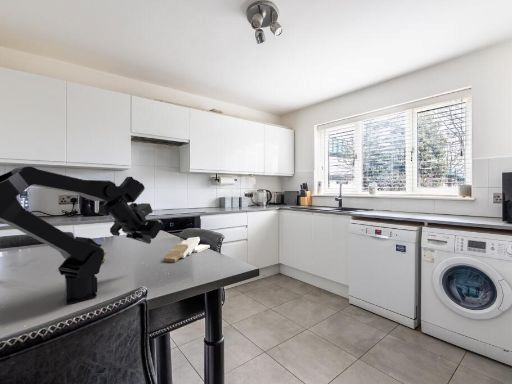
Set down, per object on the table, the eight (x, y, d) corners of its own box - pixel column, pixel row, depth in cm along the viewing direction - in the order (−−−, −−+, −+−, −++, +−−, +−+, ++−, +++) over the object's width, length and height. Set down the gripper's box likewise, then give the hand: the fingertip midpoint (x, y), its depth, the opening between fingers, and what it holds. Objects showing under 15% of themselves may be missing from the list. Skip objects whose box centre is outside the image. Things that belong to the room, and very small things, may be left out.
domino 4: (194, 247, 112) (199, 236, 122) (183, 248, 113) (189, 237, 122) (195, 250, 113) (199, 239, 122) (184, 251, 113) (189, 240, 123)
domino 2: (183, 254, 103) (193, 240, 112) (172, 254, 104) (183, 240, 113) (184, 257, 103) (194, 243, 112) (173, 257, 105) (183, 243, 113)
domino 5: (197, 250, 113) (209, 245, 122) (188, 249, 115) (201, 244, 124) (197, 253, 113) (209, 248, 122) (188, 252, 115) (201, 247, 124)
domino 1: (174, 258, 98) (187, 244, 107) (163, 258, 99) (177, 243, 108) (175, 262, 98) (188, 247, 107) (164, 261, 100) (178, 246, 109)
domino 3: (189, 251, 107) (198, 237, 116) (178, 251, 108) (188, 238, 117) (189, 254, 108) (198, 240, 117) (179, 254, 109) (188, 240, 118)
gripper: (159, 195, 81) (181, 226, 91) (118, 195, 89) (142, 223, 99) (139, 222, 74) (166, 252, 84) (96, 219, 81) (125, 247, 91)
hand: (149, 242), depth 90 cm, fingers closed
